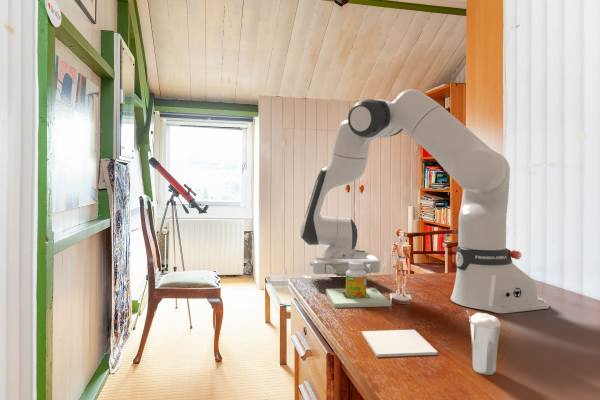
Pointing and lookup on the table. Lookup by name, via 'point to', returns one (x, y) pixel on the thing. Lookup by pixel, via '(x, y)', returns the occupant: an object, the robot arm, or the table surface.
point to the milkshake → (484, 342)
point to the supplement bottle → (355, 281)
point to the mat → (398, 343)
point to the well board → (372, 299)
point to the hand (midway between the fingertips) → (351, 271)
